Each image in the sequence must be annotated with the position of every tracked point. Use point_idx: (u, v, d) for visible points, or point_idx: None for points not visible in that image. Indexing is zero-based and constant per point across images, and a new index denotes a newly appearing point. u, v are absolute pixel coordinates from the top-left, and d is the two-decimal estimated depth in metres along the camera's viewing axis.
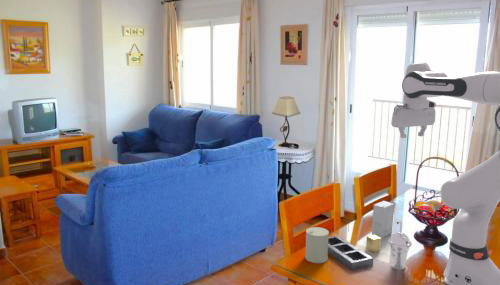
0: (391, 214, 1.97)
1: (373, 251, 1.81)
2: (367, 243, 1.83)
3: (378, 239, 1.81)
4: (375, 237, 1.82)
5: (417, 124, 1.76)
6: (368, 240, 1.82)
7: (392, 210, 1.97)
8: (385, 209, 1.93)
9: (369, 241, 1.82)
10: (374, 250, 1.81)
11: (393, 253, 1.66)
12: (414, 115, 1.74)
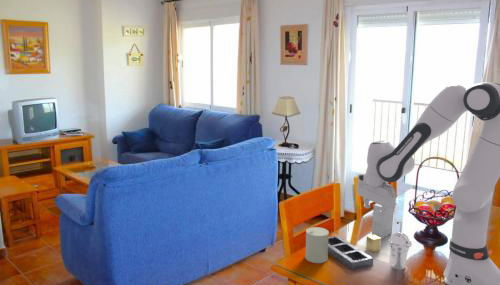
0: (391, 214, 1.97)
1: (373, 251, 1.81)
2: (367, 243, 1.83)
3: (378, 239, 1.81)
4: (375, 237, 1.82)
5: None
6: (368, 240, 1.82)
7: (392, 210, 1.97)
8: None
9: (369, 241, 1.82)
10: (374, 250, 1.81)
11: (393, 253, 1.66)
12: None
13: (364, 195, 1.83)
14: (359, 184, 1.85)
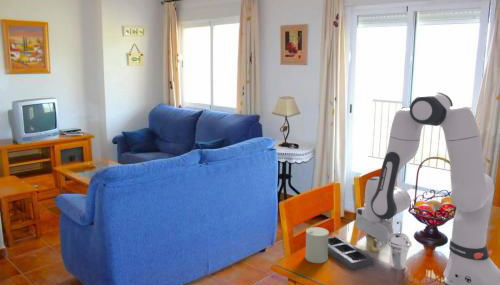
0: None
1: (373, 251, 1.81)
2: (367, 243, 1.83)
3: None
4: None
5: None
6: (368, 240, 1.82)
7: None
8: None
9: (369, 240, 1.82)
10: (374, 250, 1.81)
11: (393, 253, 1.66)
12: None
13: (363, 229, 1.85)
14: (358, 218, 1.87)
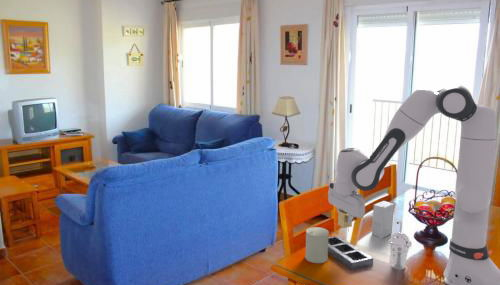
0: (391, 214, 1.97)
1: (344, 226, 1.74)
2: (339, 218, 1.76)
3: None
4: None
5: None
6: (340, 214, 1.75)
7: (392, 210, 1.97)
8: (385, 209, 1.93)
9: (341, 215, 1.75)
10: (346, 225, 1.74)
11: (393, 253, 1.66)
12: None
13: (335, 203, 1.78)
14: (330, 192, 1.80)
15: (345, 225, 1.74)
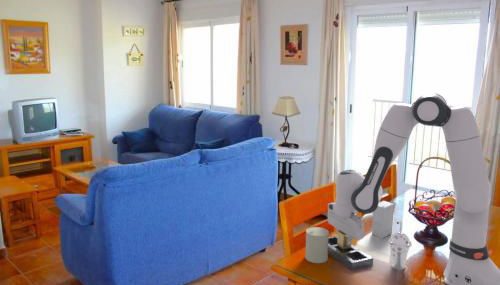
0: (391, 214, 1.97)
1: (344, 247, 1.75)
2: (338, 239, 1.78)
3: None
4: None
5: None
6: (339, 235, 1.77)
7: (392, 210, 1.97)
8: (385, 209, 1.93)
9: (340, 236, 1.76)
10: (345, 246, 1.76)
11: (393, 253, 1.66)
12: None
13: (334, 224, 1.80)
14: (329, 213, 1.82)
15: (344, 246, 1.75)
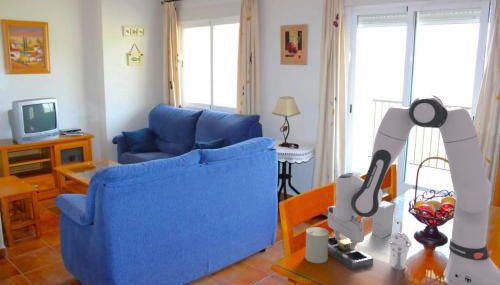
0: (391, 214, 1.97)
1: None
2: (338, 248, 1.78)
3: (349, 244, 1.76)
4: (346, 242, 1.77)
5: None
6: (339, 245, 1.77)
7: (392, 210, 1.97)
8: (385, 209, 1.93)
9: (340, 245, 1.77)
10: None
11: (393, 253, 1.66)
12: None
13: (334, 228, 1.80)
14: (329, 216, 1.82)
15: None
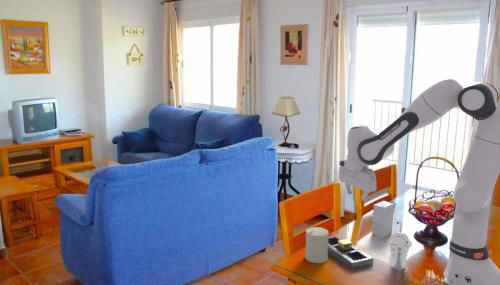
0: (391, 214, 1.97)
1: None
2: (338, 248, 1.78)
3: (349, 244, 1.76)
4: (346, 242, 1.77)
5: None
6: (339, 245, 1.77)
7: (392, 210, 1.97)
8: (385, 209, 1.93)
9: (340, 245, 1.77)
10: None
11: (393, 253, 1.66)
12: None
13: (346, 181, 1.83)
14: (340, 170, 1.85)
15: None
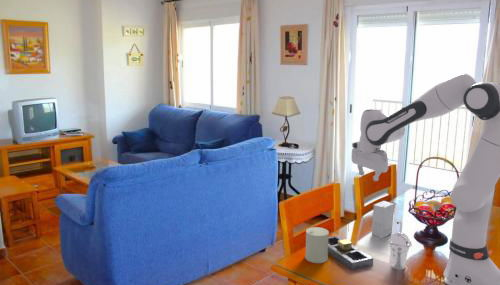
0: (391, 214, 1.97)
1: None
2: (338, 248, 1.78)
3: (349, 244, 1.76)
4: (346, 242, 1.77)
5: None
6: (339, 245, 1.77)
7: (392, 210, 1.97)
8: (385, 209, 1.93)
9: (340, 245, 1.77)
10: None
11: (393, 253, 1.66)
12: None
13: (358, 162, 1.90)
14: (353, 152, 1.92)
15: None
